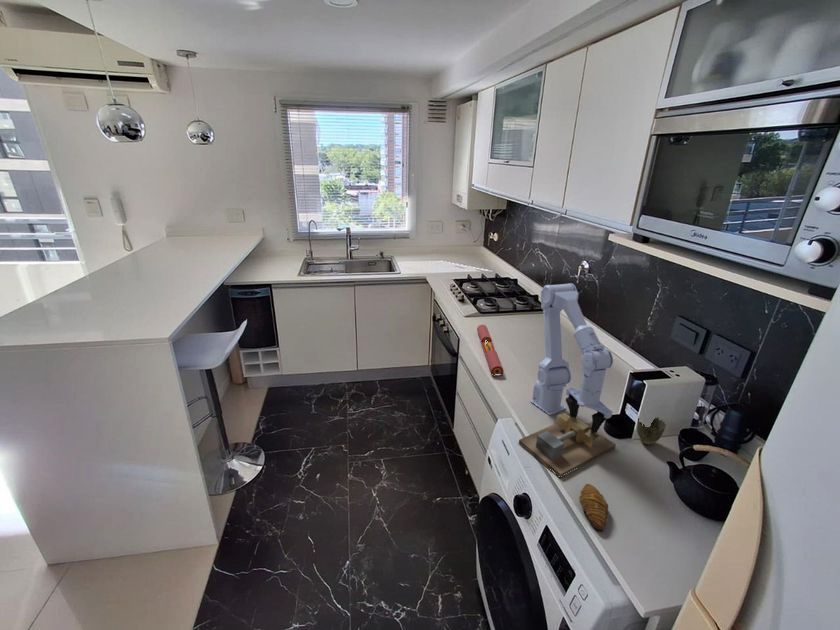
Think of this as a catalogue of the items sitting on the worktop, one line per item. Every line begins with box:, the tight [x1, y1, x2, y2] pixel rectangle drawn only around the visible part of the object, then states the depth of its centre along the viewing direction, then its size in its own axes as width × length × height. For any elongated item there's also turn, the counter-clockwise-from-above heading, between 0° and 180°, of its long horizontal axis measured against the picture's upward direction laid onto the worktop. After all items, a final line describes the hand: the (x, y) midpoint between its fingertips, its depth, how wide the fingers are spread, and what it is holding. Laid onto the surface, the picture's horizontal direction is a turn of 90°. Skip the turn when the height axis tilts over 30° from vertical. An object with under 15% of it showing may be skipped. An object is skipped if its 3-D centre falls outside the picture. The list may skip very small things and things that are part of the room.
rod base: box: [518, 421, 617, 478], centre depth 118 cm, size 16×24×6 cm, turn 120°
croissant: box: [578, 483, 609, 532], centre depth 96 cm, size 14×7×5 cm, turn 170°
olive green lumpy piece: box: [636, 416, 667, 446], centre depth 119 cm, size 8×7×8 cm
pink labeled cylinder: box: [476, 324, 504, 376], centre depth 175 cm, size 42×5×5 cm, turn 0°
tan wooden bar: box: [555, 412, 600, 448], centre depth 119 cm, size 13×3×5 cm, turn 30°
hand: (583, 424), depth 120 cm, fingers open, 7 cm apart
